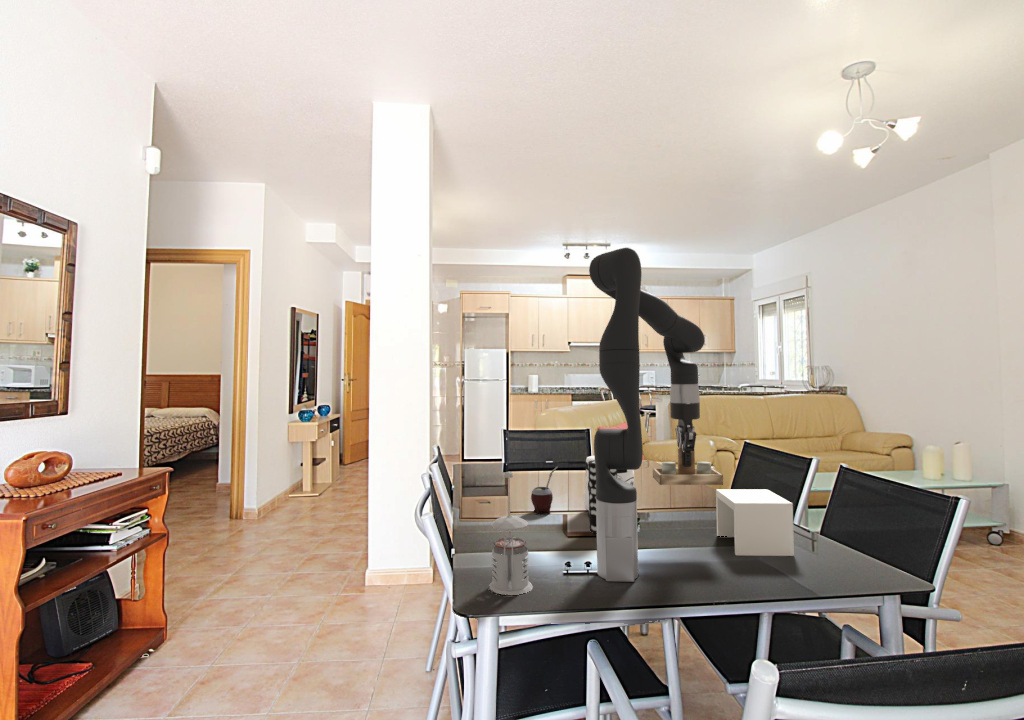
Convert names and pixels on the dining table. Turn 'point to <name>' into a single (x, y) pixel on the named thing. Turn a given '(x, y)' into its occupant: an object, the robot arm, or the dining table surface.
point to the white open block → (755, 521)
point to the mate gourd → (542, 498)
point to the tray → (688, 478)
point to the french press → (510, 556)
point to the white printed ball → (621, 475)
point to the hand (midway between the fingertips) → (686, 465)
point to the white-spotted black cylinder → (594, 494)
